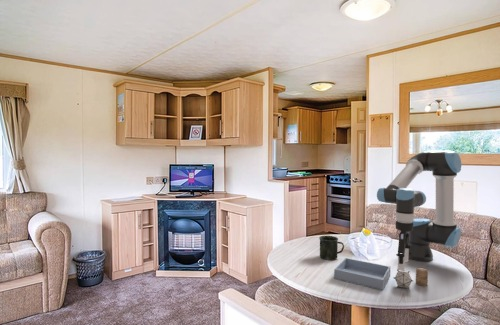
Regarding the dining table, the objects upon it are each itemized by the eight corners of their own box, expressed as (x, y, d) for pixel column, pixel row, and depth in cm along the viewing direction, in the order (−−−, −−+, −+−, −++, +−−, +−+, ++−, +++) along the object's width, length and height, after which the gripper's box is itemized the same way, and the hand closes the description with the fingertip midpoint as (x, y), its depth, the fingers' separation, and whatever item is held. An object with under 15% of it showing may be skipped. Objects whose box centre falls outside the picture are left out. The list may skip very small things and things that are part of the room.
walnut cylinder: (416, 280, 155) (416, 267, 154) (427, 283, 152) (428, 269, 152) (415, 284, 151) (415, 270, 150) (426, 287, 148) (427, 272, 147)
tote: (345, 266, 173) (345, 257, 173) (390, 276, 161) (390, 266, 160) (334, 278, 158) (334, 269, 157) (382, 290, 145) (383, 280, 144)
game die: (405, 297, 146) (406, 286, 140) (389, 284, 152) (389, 273, 146) (416, 285, 149) (418, 273, 143) (400, 273, 155) (401, 261, 149)
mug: (318, 253, 194) (319, 235, 194) (343, 255, 191) (343, 236, 191) (319, 260, 184) (319, 240, 183) (344, 261, 181) (344, 241, 180)
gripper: (399, 215, 158) (398, 256, 159) (391, 225, 138) (389, 272, 139) (416, 217, 154) (415, 259, 155) (410, 228, 134) (408, 276, 134)
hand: (403, 265), depth 147 cm, fingers open, 13 cm apart
